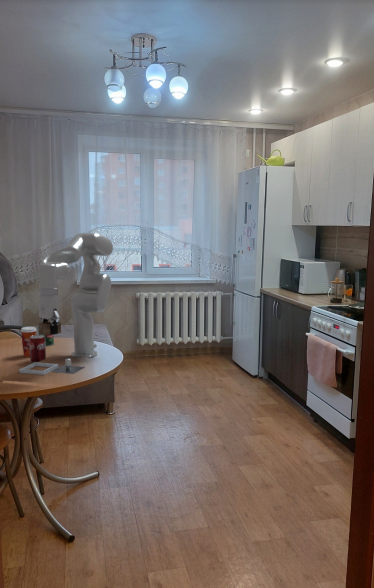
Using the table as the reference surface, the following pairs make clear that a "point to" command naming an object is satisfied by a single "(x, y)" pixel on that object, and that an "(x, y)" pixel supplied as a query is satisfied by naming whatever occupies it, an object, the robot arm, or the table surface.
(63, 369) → the grey peg base
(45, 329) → the brown hollow square block
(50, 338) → the canned tomato
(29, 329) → the paper cup
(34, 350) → the soda can
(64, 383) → the table surface
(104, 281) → the robot arm
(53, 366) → the tray
